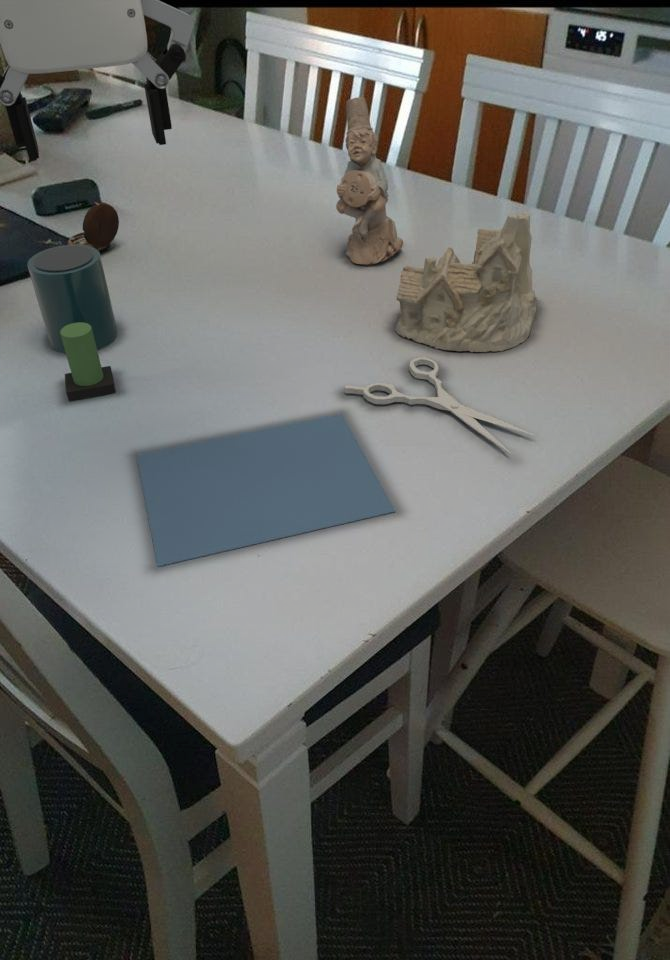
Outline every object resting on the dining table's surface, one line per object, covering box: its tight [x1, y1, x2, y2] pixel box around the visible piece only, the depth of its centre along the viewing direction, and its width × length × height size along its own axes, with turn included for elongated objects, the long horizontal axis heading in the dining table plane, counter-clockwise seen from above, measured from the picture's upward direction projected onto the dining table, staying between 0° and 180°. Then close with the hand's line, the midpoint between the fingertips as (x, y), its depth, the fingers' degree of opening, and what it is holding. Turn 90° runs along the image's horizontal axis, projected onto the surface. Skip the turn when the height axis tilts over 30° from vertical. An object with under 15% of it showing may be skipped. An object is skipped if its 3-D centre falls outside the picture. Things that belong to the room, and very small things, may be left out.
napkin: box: [136, 413, 396, 568], centre depth 75 cm, size 21×16×1 cm
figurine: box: [335, 96, 404, 265], centre depth 107 cm, size 9×8×20 cm
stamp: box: [60, 322, 116, 402], centre depth 87 cm, size 5×4×7 cm
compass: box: [65, 201, 120, 253], centre depth 115 cm, size 8×8×7 cm
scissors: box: [343, 356, 537, 457], centre depth 83 cm, size 11×1×20 cm
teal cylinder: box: [27, 244, 119, 354], centre depth 95 cm, size 8×8×10 cm
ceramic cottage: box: [395, 211, 538, 353], centre depth 94 cm, size 16×16×15 cm
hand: (97, 147), depth 63 cm, fingers open, 9 cm apart
